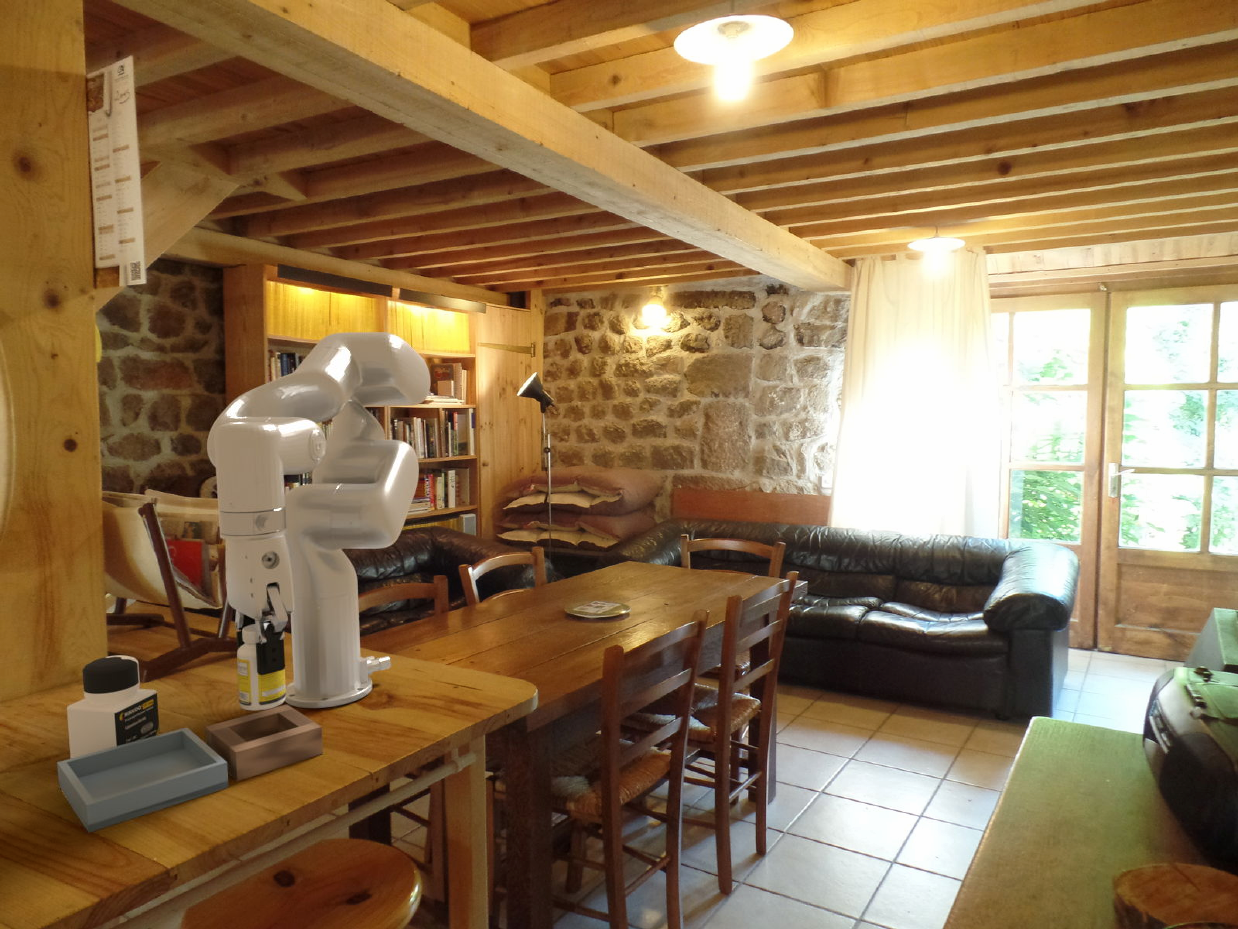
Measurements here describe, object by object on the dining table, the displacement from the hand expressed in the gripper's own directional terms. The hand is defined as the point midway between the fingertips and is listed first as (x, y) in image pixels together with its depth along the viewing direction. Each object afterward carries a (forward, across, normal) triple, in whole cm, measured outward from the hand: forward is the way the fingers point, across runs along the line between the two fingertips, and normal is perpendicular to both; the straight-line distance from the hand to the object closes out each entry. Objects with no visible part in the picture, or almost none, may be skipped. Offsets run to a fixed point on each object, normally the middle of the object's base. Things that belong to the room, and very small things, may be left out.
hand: (261, 664), depth 106 cm
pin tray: (+11, +1, +14) cm, 18 cm away
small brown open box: (+11, 0, 0) cm, 11 cm away
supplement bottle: (+5, 0, 0) cm, 5 cm away
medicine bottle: (+12, +14, +14) cm, 23 cm away
